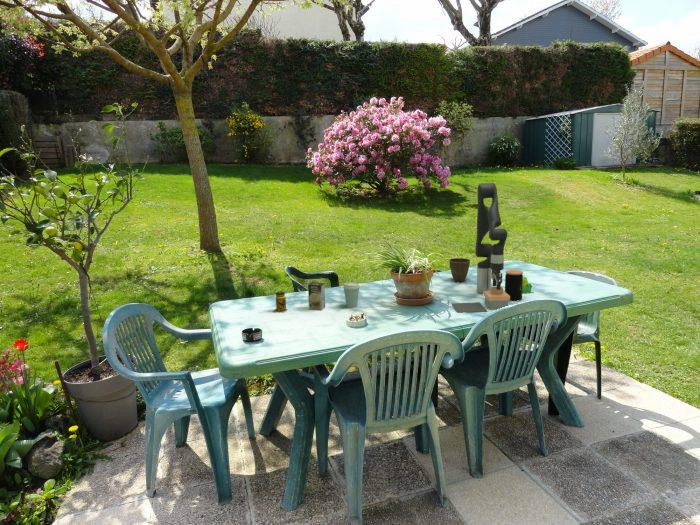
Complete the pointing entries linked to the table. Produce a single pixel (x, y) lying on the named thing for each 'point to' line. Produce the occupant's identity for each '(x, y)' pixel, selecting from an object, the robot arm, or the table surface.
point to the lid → (496, 294)
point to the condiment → (280, 302)
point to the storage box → (495, 304)
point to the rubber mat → (468, 307)
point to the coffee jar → (514, 284)
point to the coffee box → (316, 295)
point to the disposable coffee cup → (351, 294)
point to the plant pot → (459, 268)
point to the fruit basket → (526, 286)
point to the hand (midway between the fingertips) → (496, 287)
